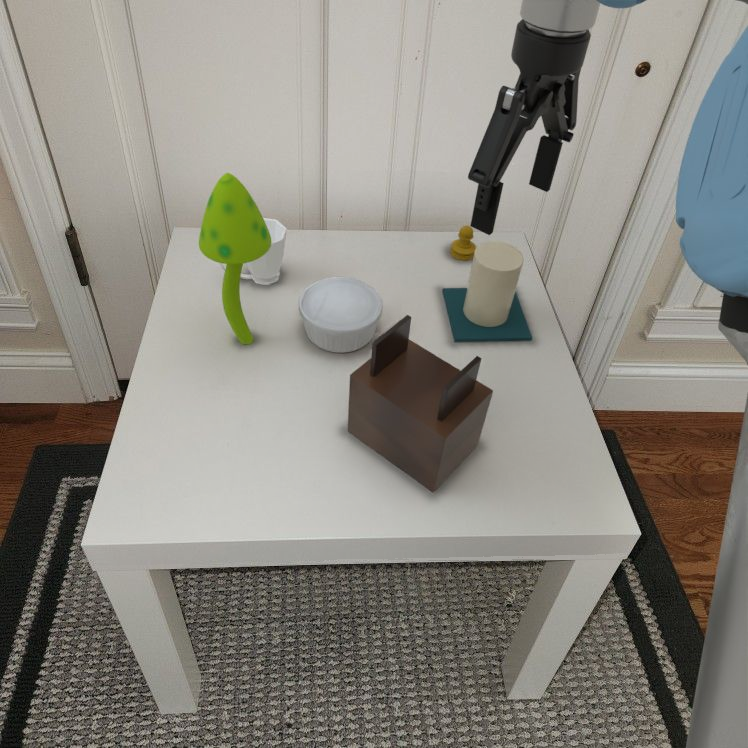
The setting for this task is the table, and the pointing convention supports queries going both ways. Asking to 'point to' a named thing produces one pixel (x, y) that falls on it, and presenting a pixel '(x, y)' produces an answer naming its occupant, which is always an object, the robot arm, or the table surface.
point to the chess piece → (463, 245)
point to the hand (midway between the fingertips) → (511, 207)
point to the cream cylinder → (492, 283)
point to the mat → (471, 332)
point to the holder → (417, 407)
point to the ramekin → (340, 313)
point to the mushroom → (233, 243)
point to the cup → (268, 256)
